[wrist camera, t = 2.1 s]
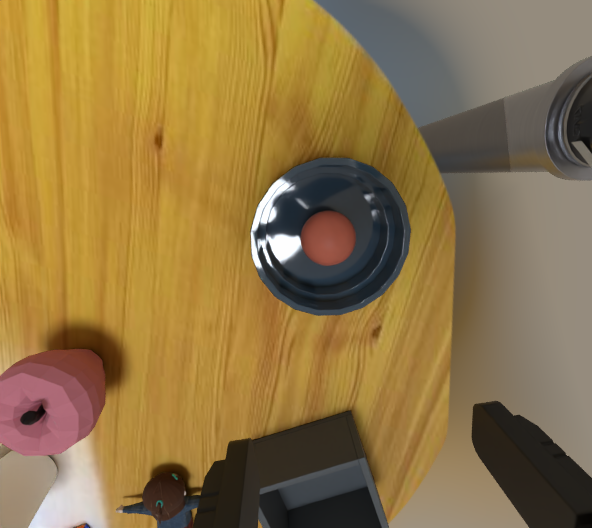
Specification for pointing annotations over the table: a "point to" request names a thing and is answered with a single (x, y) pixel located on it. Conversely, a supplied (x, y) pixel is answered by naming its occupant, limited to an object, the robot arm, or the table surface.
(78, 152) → the table surface
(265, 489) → the bin
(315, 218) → the toy ball
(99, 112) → the table surface
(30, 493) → the cup
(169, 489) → the toy
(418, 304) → the table surface
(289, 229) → the bowl
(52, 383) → the apple
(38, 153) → the table surface
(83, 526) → the rubik's cube
